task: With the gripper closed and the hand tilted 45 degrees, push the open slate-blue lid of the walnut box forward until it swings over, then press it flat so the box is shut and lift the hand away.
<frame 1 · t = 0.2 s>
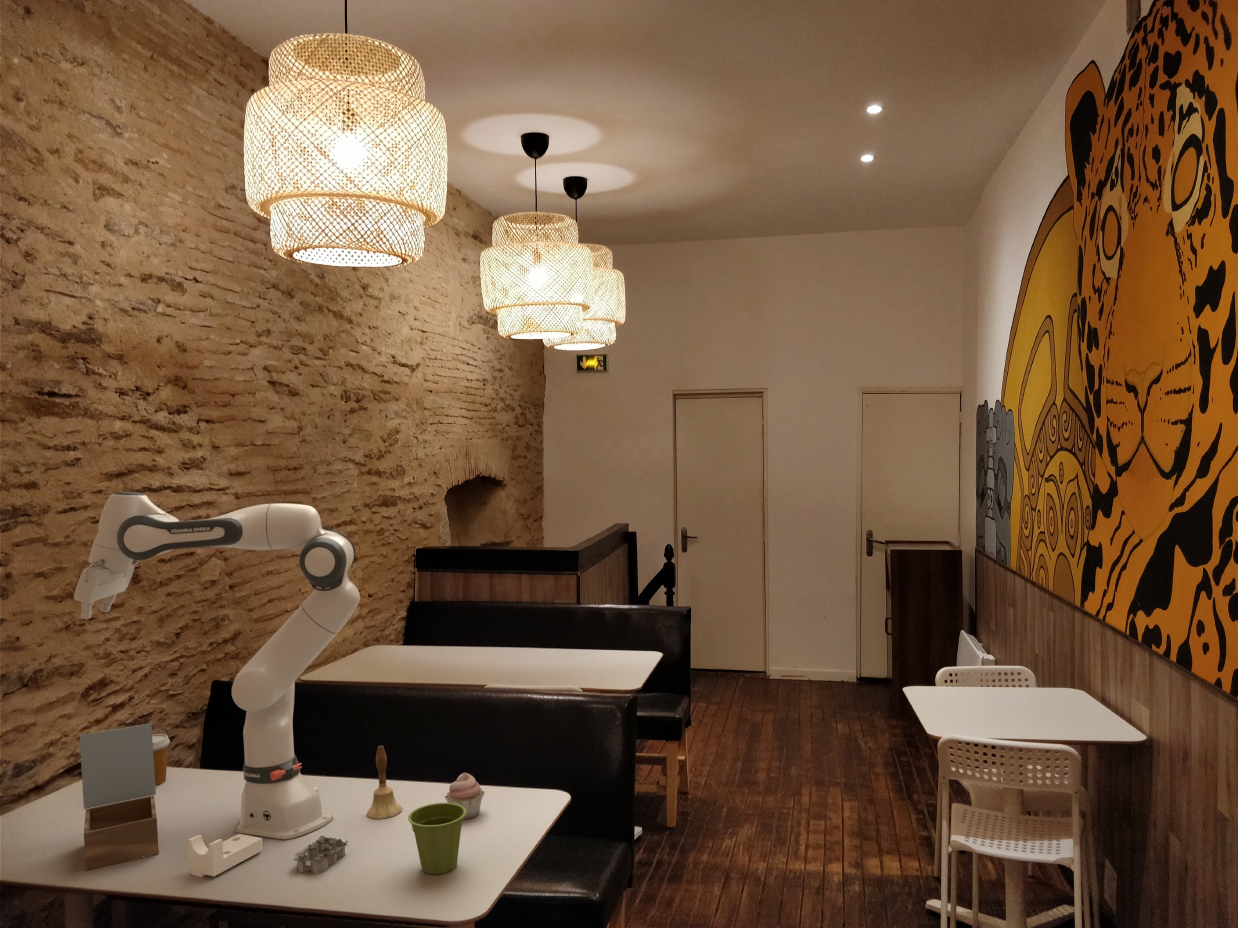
hand: (94, 614, 215), 52 cm above the table, tool tilted 20°, fingers open, 8 cm apart
disposable coffee cup: (152, 783, 249), on the table
bracket: (227, 865, 197), on the table
lid: (118, 764, 216), point 16 cm above the table, hinge at 100.0°
box: (122, 848, 207), on the table
cupcake: (466, 815, 217), on the table
plant pot: (440, 867, 190), on the table
egg carton: (321, 863, 196), on the table
hand bell: (384, 812, 221), on the table
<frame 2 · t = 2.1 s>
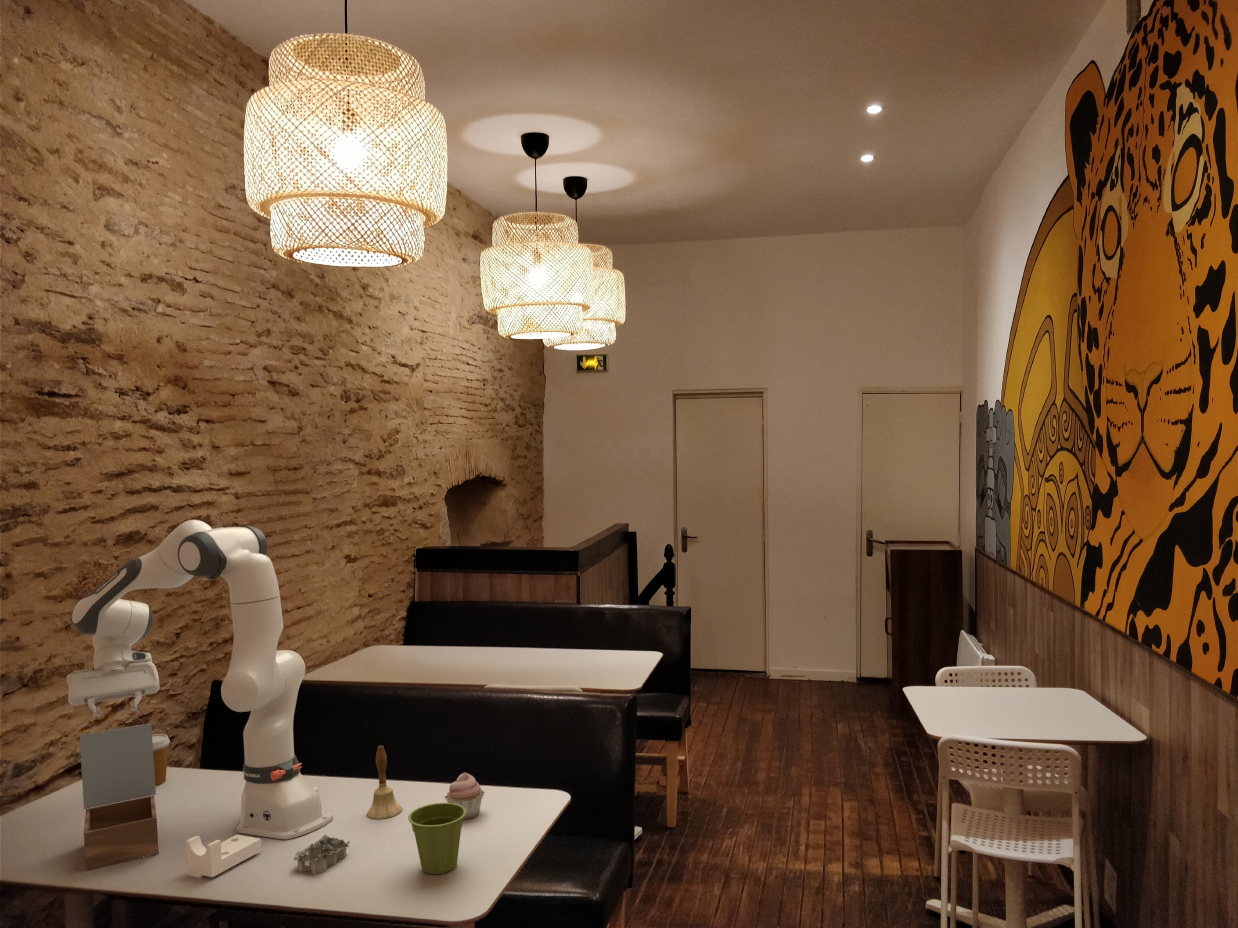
hand: (115, 712, 227), 25 cm above the table, tool tilted 45°, fingers open, 7 cm apart
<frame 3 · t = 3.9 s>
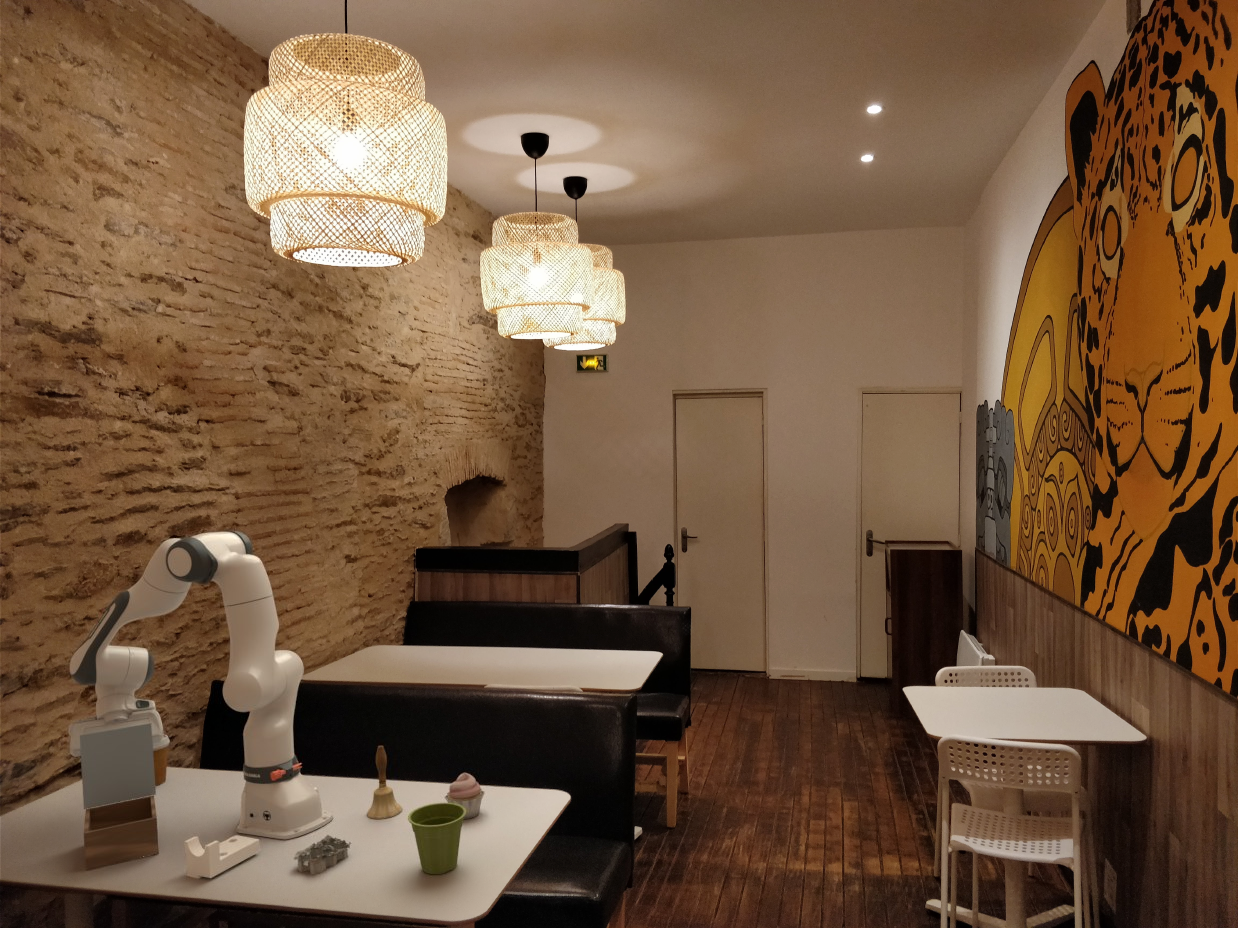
hand: (118, 763, 222), 14 cm above the table, tool tilted 45°, fingers closed
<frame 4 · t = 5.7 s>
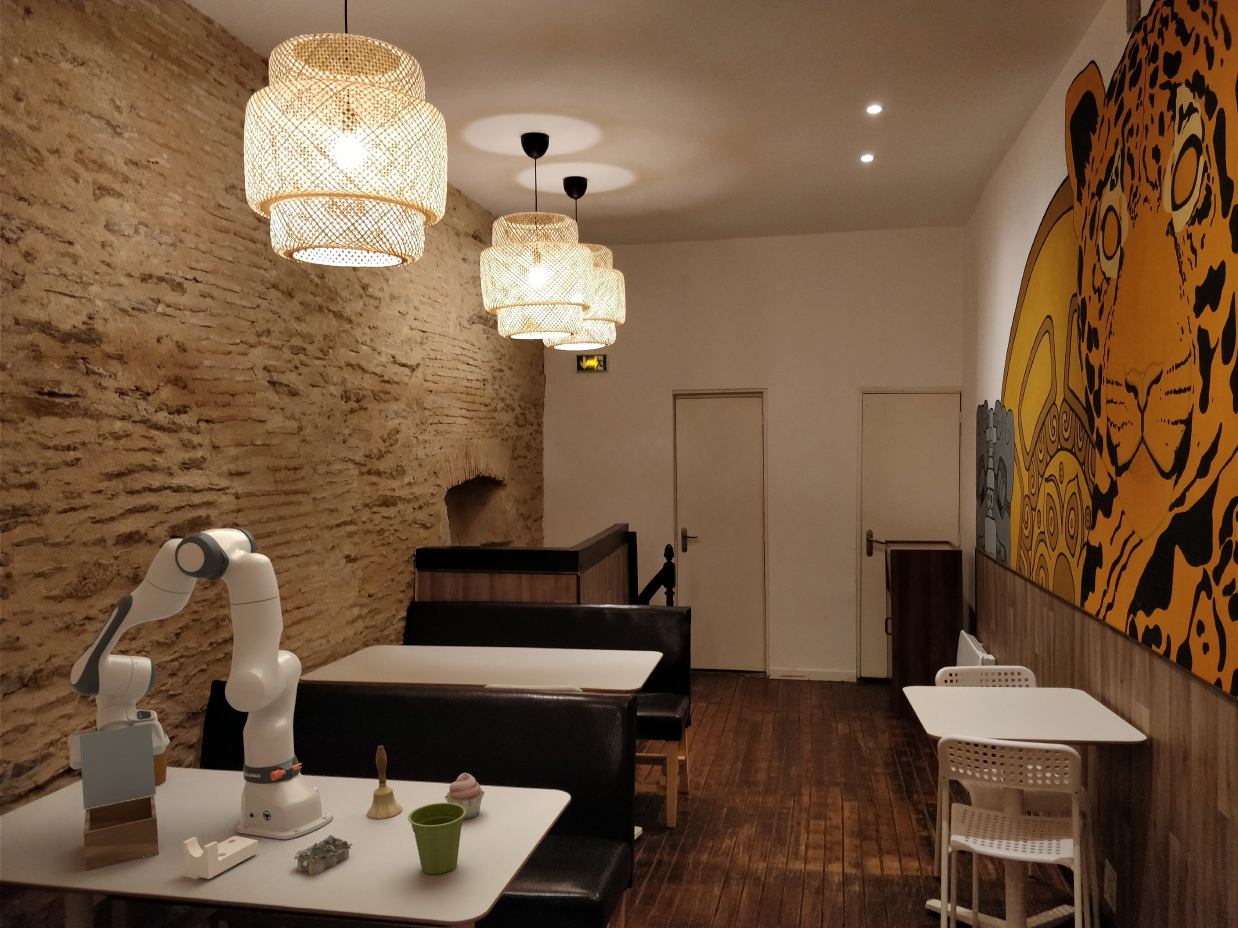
hand: (119, 776, 216), 13 cm above the table, tool tilted 45°, fingers closed, pressing on lid
lid: (118, 764, 216), point 16 cm above the table, hinge at 98.4°, touching gripper
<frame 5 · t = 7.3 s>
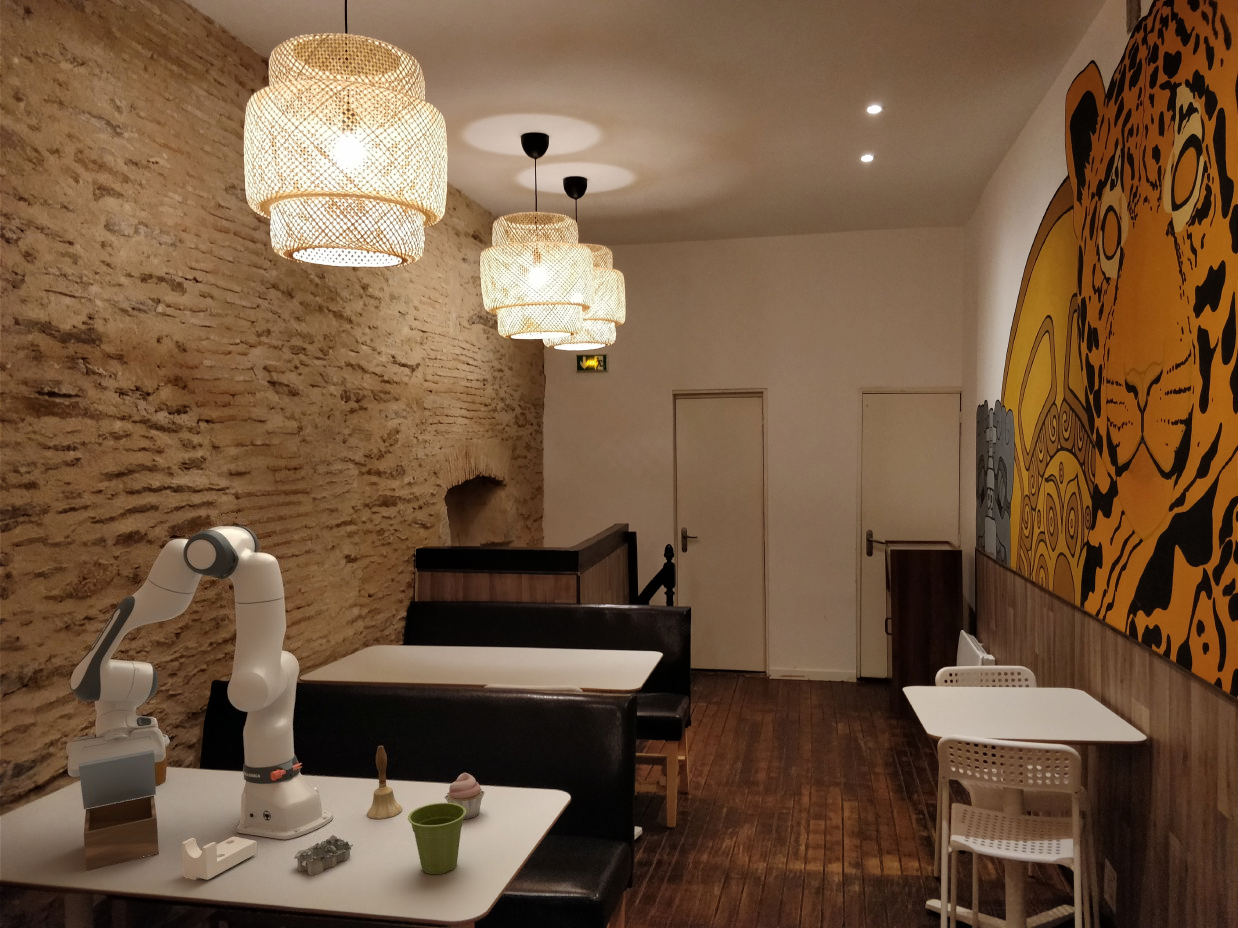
hand: (118, 784, 212), 13 cm above the table, tool tilted 45°, fingers closed, pressing on lid
lid: (118, 779, 210), point 15 cm above the table, hinge at 51.0°, touching gripper
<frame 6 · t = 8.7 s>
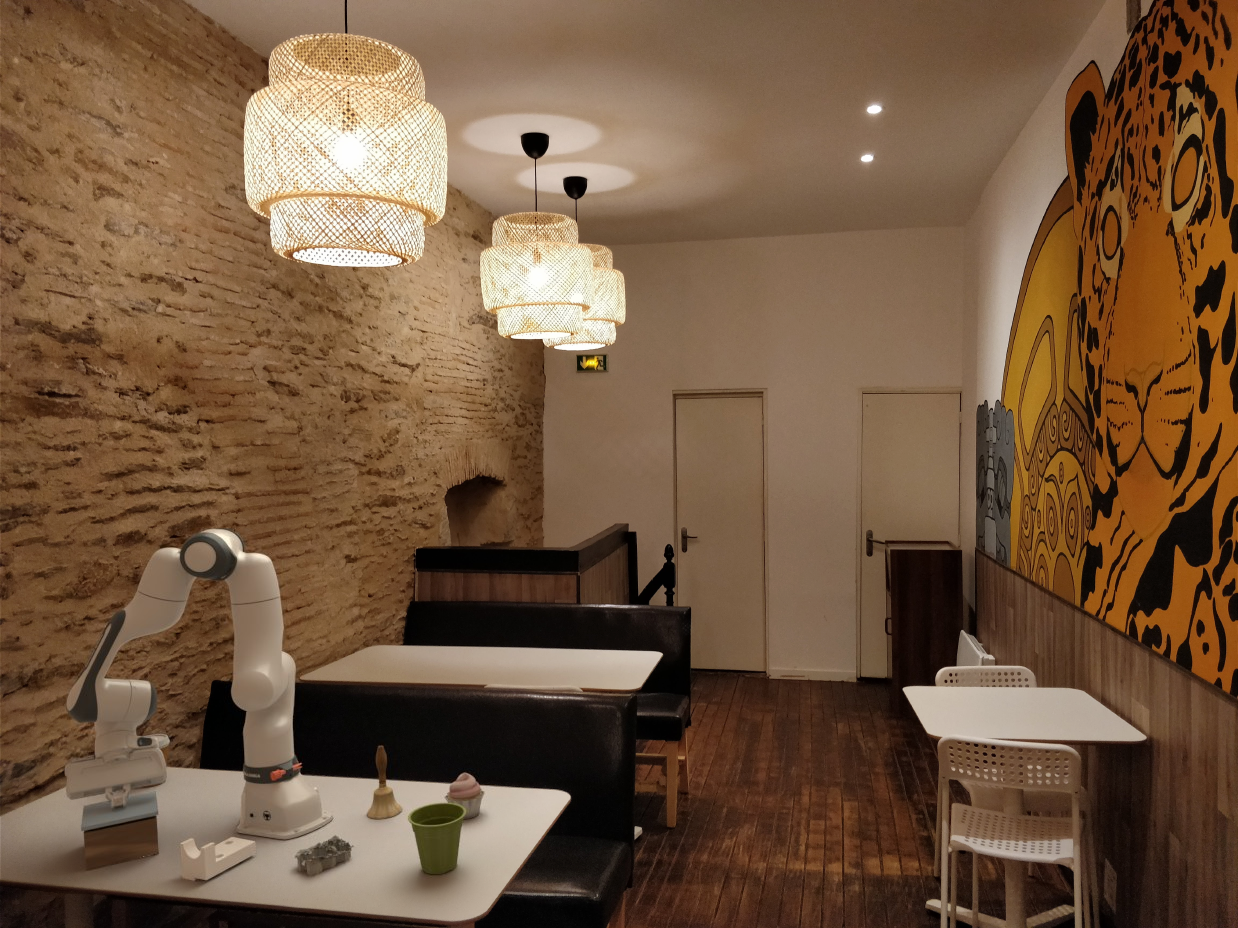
hand: (118, 807, 206), 10 cm above the table, tool tilted 45°, fingers closed, pressing on lid
lid: (120, 809, 207), point 9 cm above the table, hinge at 2.4°, touching gripper
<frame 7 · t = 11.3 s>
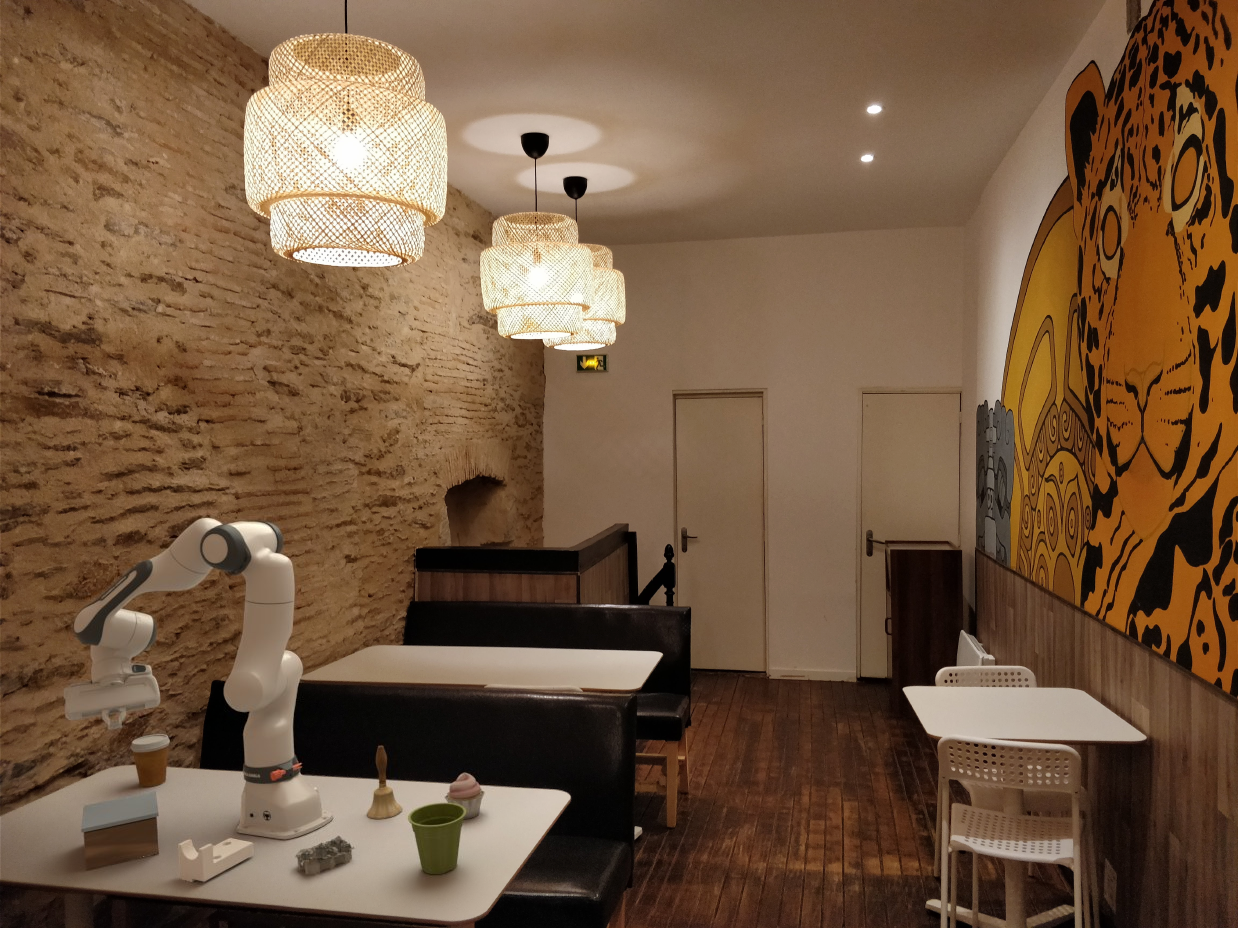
hand: (114, 727, 218), 24 cm above the table, tool tilted 45°, fingers closed
lid: (120, 810, 207), point 9 cm above the table, hinge at 1.4°
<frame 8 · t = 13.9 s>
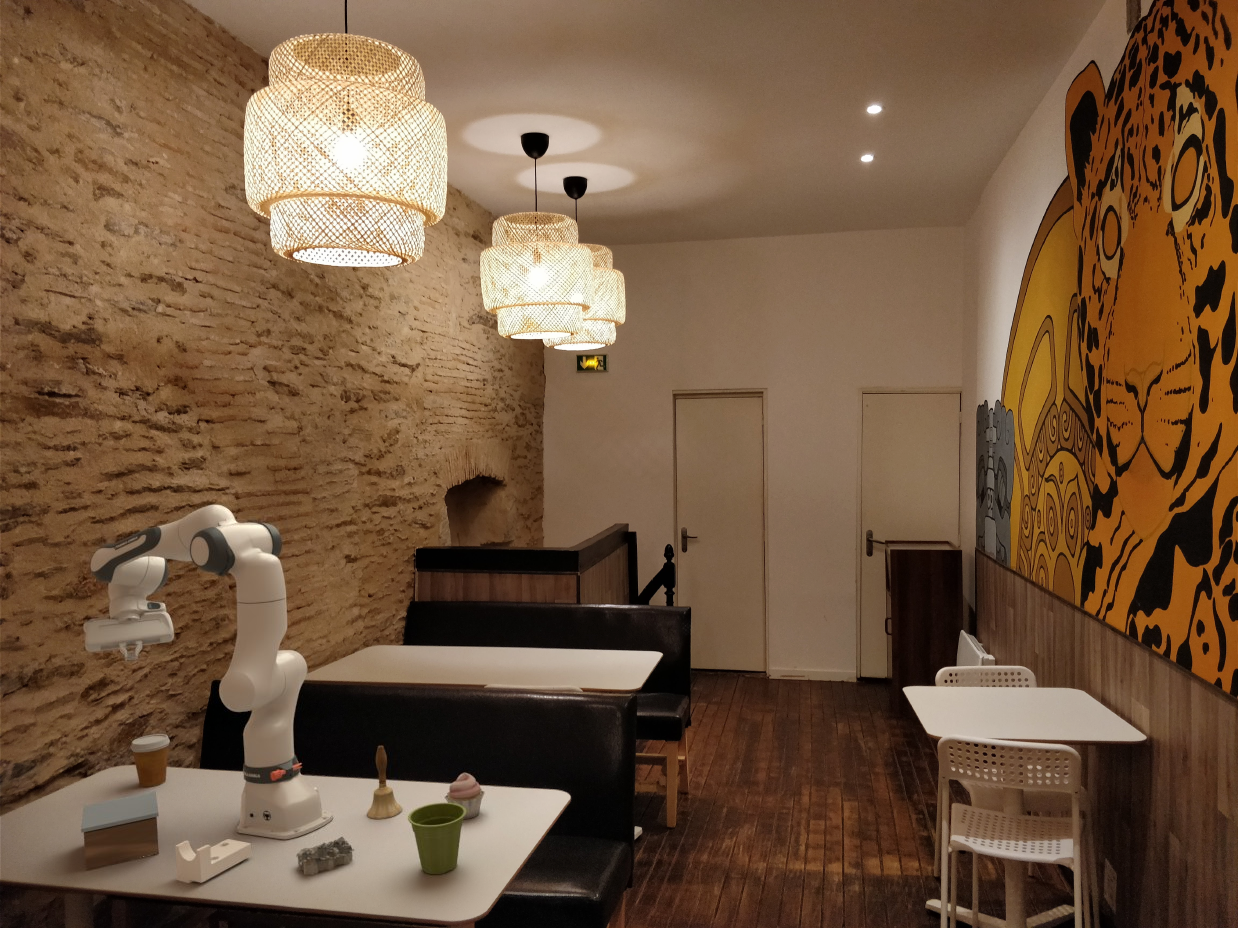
hand: (131, 658, 233), 37 cm above the table, tool tilted 45°, fingers closed
at the end: lid at +1° (first picture: +100°); the gripper is holding nothing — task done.
